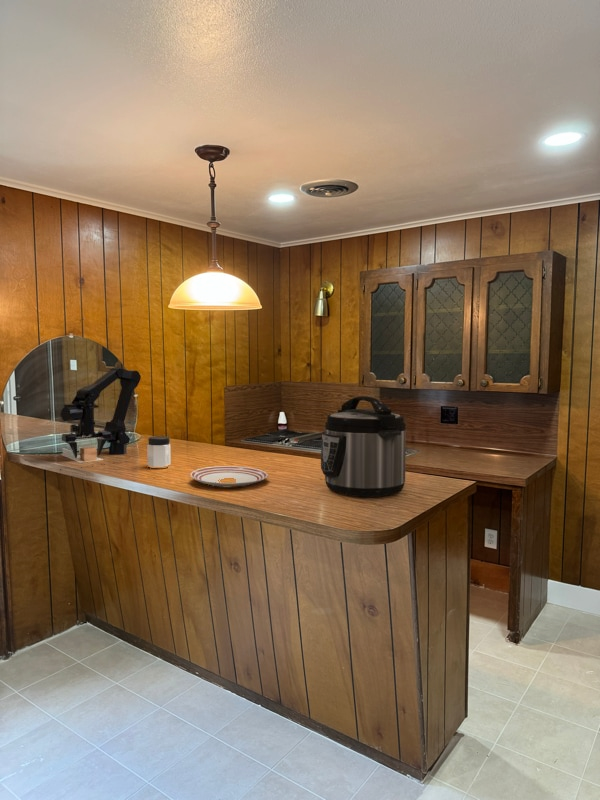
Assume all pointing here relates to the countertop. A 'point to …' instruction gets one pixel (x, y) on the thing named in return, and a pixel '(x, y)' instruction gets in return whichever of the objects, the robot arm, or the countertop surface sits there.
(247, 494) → the countertop surface
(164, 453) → the jar
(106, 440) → the robot arm
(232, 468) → the dinner plate
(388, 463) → the pressure cooker
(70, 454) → the channel
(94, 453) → the block
